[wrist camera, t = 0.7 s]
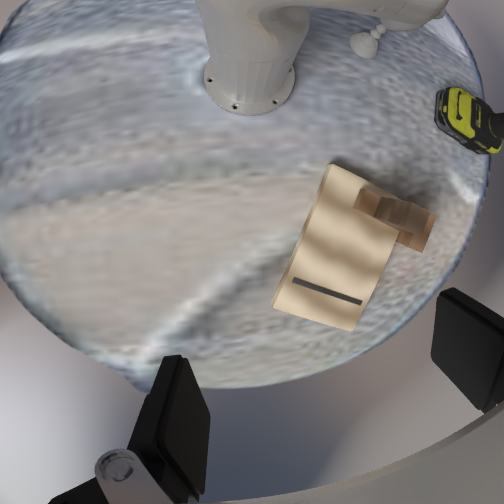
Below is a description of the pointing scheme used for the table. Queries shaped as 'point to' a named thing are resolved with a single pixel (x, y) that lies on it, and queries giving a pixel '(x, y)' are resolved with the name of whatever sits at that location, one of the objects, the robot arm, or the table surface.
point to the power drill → (469, 121)
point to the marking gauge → (398, 217)
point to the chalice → (379, 36)
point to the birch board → (336, 255)
